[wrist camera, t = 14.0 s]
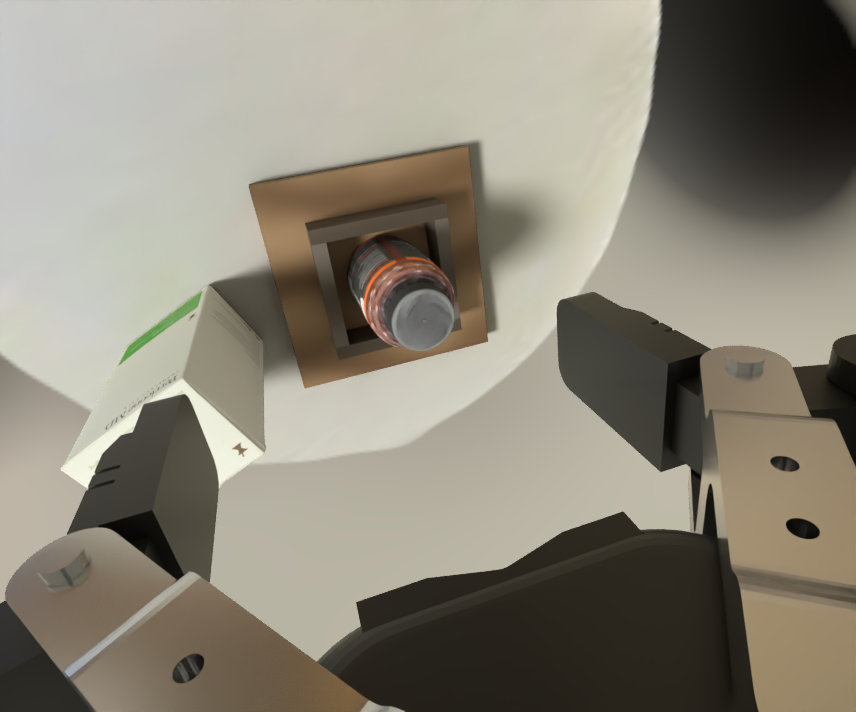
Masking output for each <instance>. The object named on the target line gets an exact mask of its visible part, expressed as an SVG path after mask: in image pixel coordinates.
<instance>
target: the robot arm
mask: <svg viewBox="0 0 856 712" xmlns="http://www.w3.org/2000/svg"><path fill="white" fill-rule="evenodd" d="M557 333H558V361H559V369H560V373H561V376H562V378H563V381H564V382H565V384H566V386H567V387H568V388H569V389H570V390H571V391H572V392H573V393H574V394H575V395H576V396H577V397H578V398H580V399H581V400H582V401H583V402H584V403H585V404H586V405H587V406H588V407H589V408H591V409H592V410H593V411H594V412H595V413H596V414H597V415H598V416H599V417H601V418H602V419H603V420H604V421H605V422H606V423H607V424H608V425H609V426H610V427H612V428H613V429H614V430H615V431H616V432H617V433H618V434H619V435H620V436H622V437H623V438H624V439H625V440H626V441H627V442H628V443H629V444H630V445H632V446H633V447H634V448H635V449H636V450H637V451H638V452H639V453H640V454H641V455H642V456H644V457H645V458H646V459H647V460H648V461H649V462H650V463H651V464H652V465H654V466H655V467H656V468H657V469H658V470H659V471H660V472H662V471H665V470H668V469H672V468H675V467H678V466H680V465H684V464H687V465H688V466H689V467H690V470H689V480H688V481H689V482H688V489H689V509H690V528H691V529H690V530H691V532H686V531H678V530H665V529H648V530H640V529H638V527H637V526H636V525H635V524H634V523H633V522H632V521H631V519H630V518H629V517H628V516H627V515H626V514H625V513H624V512H620V513H617V514H615V515H612V516H609V517H606V518H603V519H600V520H597V521H594V522H591V523H588V524H585V525H582V526H580V527H576V528H573V529H570V530H568V531H565V532H562V533H561V534H559V535H557V536H556V537H554V538H553V539H551V540H549V541H548V542H546V543H545V544H543V545H542V546H540V547H539V548H537V549H535V550H534V551H532V552H531V553H529V554H527V555H526V556H524V557H523V558H521V559H519V560H518V561H516V562H515V563H513V564H512V565H510V566H508V567H506V568H504V569H500V570H493V571H486V572H477V573H468V574H460V575H451V576H443V577H434V578H426V579H423V580H420V581H418V582H414V583H411V584H409V585H406V586H403V587H400V588H397V589H394V590H391V591H388V592H385V593H382V594H379V595H376V596H373V597H370V598H367V599H364V600H362V601H359V602H356V603H357V609H358V614H359V619H360V623H361V626H360V627H359V628H357V629H356V630H354V631H353V632H351V633H349V634H348V635H347V636H345V637H344V638H343V639H341V640H340V641H339V642H338V643H336V644H335V645H334V646H333V647H332V648H331V649H330V650H328V651H327V652H326V653H325V654H324V655H323V656H322V657H321V658H320V659H319V660H318V661H317V662H316V661H315V660H313V659H312V658H311V657H309V656H308V655H306V654H305V653H304V652H302V651H301V650H300V649H298V648H297V647H296V646H294V645H293V644H292V643H290V642H289V641H288V640H286V639H285V638H283V637H282V636H281V635H279V634H278V633H277V632H275V631H274V630H273V629H271V628H270V627H268V626H267V625H266V624H264V623H263V622H262V621H260V620H259V619H258V618H256V617H255V616H254V615H252V614H251V613H249V612H248V611H247V610H245V609H244V608H243V607H241V606H240V605H239V604H237V603H236V602H235V601H233V600H232V599H230V598H229V597H228V596H226V595H225V594H224V593H222V592H221V591H220V590H218V589H217V588H216V587H214V586H213V585H211V584H210V574H211V563H212V553H213V543H214V532H215V522H216V512H217V502H218V491H219V480H218V473H217V469H216V465H215V461H214V458H213V455H212V453H211V450H210V448H209V445H208V443H207V440H206V438H205V435H204V433H203V430H202V428H201V425H200V423H199V420H198V418H197V415H196V413H195V410H194V408H193V405H192V403H191V401H190V399H189V398H188V396H187V395H186V394H181V395H177V396H173V397H169V398H165V399H161V400H157V401H153V402H149V403H145V404H144V405H143V407H142V409H141V412H140V414H139V417H138V420H137V422H136V425H135V428H134V430H133V432H131V433H127V434H124V435H121V436H120V437H119V438H118V439H117V440H116V441H115V442H114V443H113V444H112V445H111V446H110V447H109V448H108V449H107V450H106V451H105V452H104V453H103V454H102V456H101V458H100V460H99V462H98V465H97V467H96V469H95V471H94V472H95V475H93V476H92V478H91V481H90V483H89V485H88V490H87V491H86V492H85V494H84V497H83V499H82V501H81V504H80V506H79V508H78V510H77V513H76V515H75V517H74V519H73V521H72V524H71V526H70V528H69V531H68V533H67V535H66V536H64V537H61V538H59V539H58V540H55V541H53V542H52V543H50V544H48V545H47V546H45V547H43V548H42V549H40V550H39V551H38V552H36V553H35V554H34V555H33V556H31V557H30V558H29V559H28V560H26V562H24V563H23V564H22V565H21V566H20V567H19V569H18V570H17V571H16V572H15V573H14V575H13V576H12V578H11V579H10V581H9V583H8V585H7V587H6V592H5V599H6V601H4V602H2V603H0V712H856V334H855V335H849V336H845V337H842V338H840V339H838V340H836V341H835V342H834V344H833V347H832V351H831V356H830V360H829V364H827V365H816V366H803V367H792V366H791V364H790V362H789V361H788V360H787V359H785V358H784V357H782V356H781V355H779V354H777V353H774V352H771V351H769V350H765V349H761V348H756V347H749V346H724V347H718V348H715V349H710V348H708V347H706V346H704V345H702V344H701V343H699V342H697V341H695V340H693V339H691V338H689V337H687V336H686V335H684V334H682V333H680V332H678V331H676V330H674V331H673V330H672V328H670V327H669V326H667V325H665V324H663V323H659V322H658V321H657V320H656V319H654V318H652V317H650V316H648V315H646V314H645V313H643V312H639V311H635V310H631V309H627V308H623V307H620V306H619V305H617V304H615V303H613V302H612V301H610V300H608V299H606V298H604V297H602V296H601V295H599V294H597V293H595V292H590V293H586V294H582V295H578V296H574V297H570V298H566V299H562V300H561V301H560V302H559V303H558V306H557Z"/></svg>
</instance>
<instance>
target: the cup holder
mask: <svg viewBox="0 0 856 712" xmlns="http://www.w3.org/2000/svg"><path fill="white" fill-rule="evenodd" d="M249 189H250V193H251V197H252V200H253V204H254V207H255V211H256V215H257V218H258V222H259V225H260V229H261V233H262V236H263V240H264V243H265V247H266V251H267V254H268V258H269V261H270V265H271V269H272V272H273V276H274V279H275V283H276V287H277V290H278V294H279V297H280V301H281V305H282V308H283V312H284V315H285V319H286V323H287V326H288V330H289V333H290V337H291V341H292V344H293V348H294V351H295V355H296V359H297V362H298V366H299V369H300V373H301V377H302V380H303V384H304V387H305V388H308V387H312V386H316V385H320V384H324V383H328V382H332V381H336V380H340V379H344V378H347V377H351V376H355V375H359V374H363V373H367V372H371V371H375V370H379V369H383V368H387V367H391V366H394V365H398V364H402V363H406V362H410V361H414V360H418V359H422V358H426V357H430V356H434V355H437V354H441V353H445V352H449V351H453V350H457V349H461V348H465V347H469V346H473V345H477V344H480V343H484V342H488V337H487V327H486V317H485V307H484V297H483V287H482V277H481V267H480V257H479V247H478V237H477V227H476V217H475V208H474V198H473V188H472V178H471V168H470V158H469V148H468V147H466V146H458V147H453V148H447V149H442V150H436V151H430V152H425V153H419V154H414V155H408V156H403V157H397V158H392V159H386V160H381V161H375V162H370V163H364V164H359V165H353V166H348V167H342V168H337V169H331V170H326V171H320V172H314V173H309V174H303V175H298V176H292V177H287V178H281V179H276V180H270V181H265V182H259V183H254V184H249ZM383 235H390V236H396V237H399V238H401V239H403V240H405V241H407V242H409V243H410V244H411V245H413V246H414V247H415V248H416V249H417V250H419V251H420V252H421V253H422V254H423V255H425V256H426V257H427V258H428V259H429V260H430V261H432V262H433V263H434V264H435V265H436V266H437V267H438V268H439V269H441V270H442V271H443V272H444V274H445V275H446V276H447V278H448V279H449V281H450V283H451V285H452V287H453V290H454V295H455V310H454V312H455V322H454V327H453V328H452V331H451V333H450V335H449V336H448V338H447V339H446V340H445V341H444V342H443V343H442V344H440V345H439V346H437V347H435V348H433V349H430V350H427V351H414V350H410V349H405V348H399V347H394V346H392V345H389V344H388V343H386V342H384V341H383V340H382V339H381V338H379V337H378V336H377V334H376V333H375V332H374V331H373V330H372V328H371V326H370V325H369V323H368V321H367V319H366V317H365V316H364V314H363V312H362V310H361V308H360V306H359V305H358V303H357V301H356V299H355V298H354V296H353V294H352V292H351V289H350V287H349V283H348V277H347V272H348V265H349V261H350V259H351V257H352V255H353V254H354V252H355V251H356V249H357V248H358V247H359V246H360V245H361V244H362V243H364V242H365V241H367V240H369V239H371V238H373V237H377V236H383Z"/></svg>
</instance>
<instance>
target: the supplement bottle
mask: <svg viewBox="0 0 856 712" xmlns="http://www.w3.org/2000/svg"><path fill="white" fill-rule="evenodd" d="M347 277H348V283H349V287H350V289H351V292H352V294H353V296H354V298H355V299H356V301H357V303H358V305H359V306H360V308H361V310H362V312H363V314H364V316H365V317H366V319H367V321H368V323H369V325H370V326H371V328H372V330H373V331H374V332H375V333H376V334H377V336H378V337H379V338H381V339H382V340H383V341H384V342H386V343H388V344H389V345H392V346H394V347H399V348H405V349H410V350H414V351H427V350H430V349H433V348H435V347H437V346H439V345H440V344H442V343H443V342H444V341H445V340H446V339H447V338H448V336H449V335H450V333H451V331H452V328H453V327H454V322H455V312H454V310H455V295H454V290H453V287H452V285H451V283H450V281H449V279H448V278H447V276H446V275H445V274H444V272H443V271H442V270H441V269H439V268H438V267H437V266H436V265H435V264H434V263H433V262H432V261H430V260H429V259H428V258H427V257H426V256H425V255H423V254H422V253H421V252H420V251H419V250H417V249H416V248H415V247H414V246H413V245H411V244H410V243H409V242H407V241H405V240H403V239H401V238H399V237H396V236H390V235H383V236H377V237H373V238H371V239H369V240H367V241H365V242H364V243H362V244H361V245H360V246H359V247H358V248H357V249H356V251H355V252H354V254H353V255H352V257H351V259H350V261H349V265H348V272H347Z"/></svg>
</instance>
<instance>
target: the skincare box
mask: <svg viewBox="0 0 856 712" xmlns="http://www.w3.org/2000/svg"><path fill="white" fill-rule="evenodd" d="M263 356H264V346H263V340H262V339H261V338H260V337H259V336H258V335H257V334H256V333H255V332H254V331H253V330H252V329H251V328H250V326H249V325H248V324H247V323H246V322H245V321H244V320H243V319H242V318H241V317H240V316H239V315H238V314H237V313H236V312H235V311H234V310H233V309H232V308H231V306H230V305H229V304H228V303H227V302H226V301H225V300H224V299H223V298H222V297H221V296H220V295H219V294H218V293H217V292H216V291H215V290H214V289H213V288H212V287H211V286H210V285H208V286H206V287H204V288H203V289H202V290H200V291H199V292H198V293H197V294H195V295H194V296H193V297H191V298H190V299H188V300H187V301H186V302H184V303H183V304H181V305H180V306H179V307H177V308H176V309H175V310H174V311H172V312H171V313H170V314H168V315H167V316H166V317H164V318H163V319H162V320H160V321H159V322H158V323H157V324H155V325H154V326H153V327H151V328H150V329H149V330H147V331H146V332H145V333H143V334H142V335H140V336H139V337H138V338H136V339H135V340H134V341H132V342H131V343H130V344H128V345H127V346H126V347H125V349H124V351H123V353H122V355H121V357H120V359H119V361H118V363H117V365H116V366H115V368H114V370H113V372H112V374H111V376H110V378H109V380H108V382H107V384H106V386H105V388H104V390H103V391H102V393H101V395H100V397H99V399H98V401H97V403H96V405H95V407H94V408H93V410H92V412H91V414H90V416H89V418H88V420H87V422H86V424H85V426H84V428H83V430H82V431H81V434H80V435H79V437H78V439H77V441H76V443H75V445H74V447H73V449H72V451H71V453H70V454H69V456H68V458H67V460H66V462H65V464H64V465H63V466H62V468H61V470H62V471H63V472H65V473H66V474H68V475H69V476H71V477H72V478H73V479H75V480H76V481H78V482H79V483H80V484H82V485H84V486H85V487H86V488H88V485H89V483H90V481H91V478H92V476H93V475H95V472H94V471H95V469H96V467H97V465H98V462H99V460H100V458H101V456H102V454H103V453H104V452H105V451H106V450H107V449H108V448H109V447H110V446H111V445H112V444H113V443H114V442H115V441H116V440H117V439H118V438H119V437H120V436H121V435H124V434H127V433H131V432H133V430H134V428H135V425H136V422H137V420H138V417H139V414H140V412H141V409H142V407H143V405H144V404H145V403H149V402H153V401H157V400H161V399H165V398H169V397H173V396H177V395H181V394H186V395H187V396H188V398H189V399H190V401H191V403H192V405H193V408H194V410H195V413H196V415H197V418H198V420H199V423H200V425H201V428H202V430H203V433H204V435H205V438H206V440H207V443H208V445H209V448H210V450H211V453H212V455H213V458H214V461H215V465H216V469H217V473H218V480H219V488H220V487H221V485H222V484H223V483H224V482H226V481H227V480H228V479H230V478H231V477H232V476H234V475H235V474H237V473H238V472H239V471H241V470H242V469H244V468H245V467H246V466H248V465H249V464H250V463H252V462H253V461H254V460H256V459H257V458H258V457H260V456H261V455H263V454H264V452H265V450H266V446H265V439H264V367H263Z"/></svg>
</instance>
